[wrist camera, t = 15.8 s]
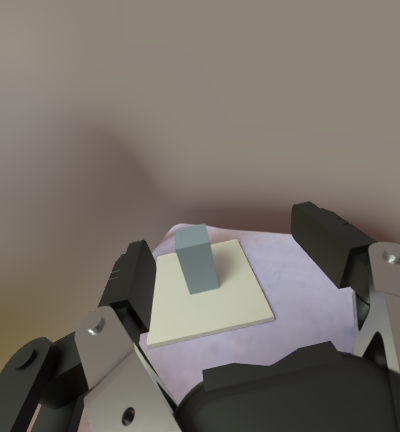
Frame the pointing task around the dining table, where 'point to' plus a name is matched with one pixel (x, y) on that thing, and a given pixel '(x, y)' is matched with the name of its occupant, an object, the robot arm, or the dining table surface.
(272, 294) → the dining table surface
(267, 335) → the dining table surface
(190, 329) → the cream tile
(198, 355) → the dining table surface
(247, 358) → the dining table surface
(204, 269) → the slate block
